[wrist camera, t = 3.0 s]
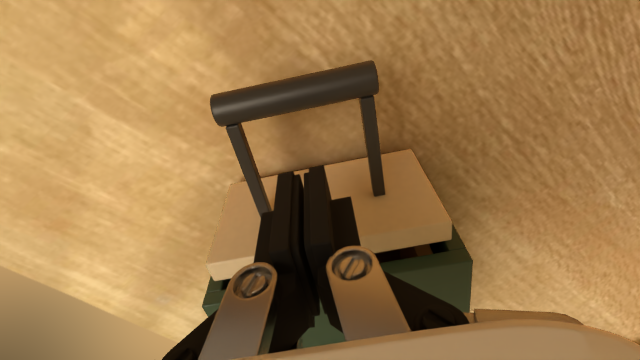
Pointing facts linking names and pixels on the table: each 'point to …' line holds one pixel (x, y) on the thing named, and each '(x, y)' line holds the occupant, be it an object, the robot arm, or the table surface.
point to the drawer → (327, 173)
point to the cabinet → (422, 272)
